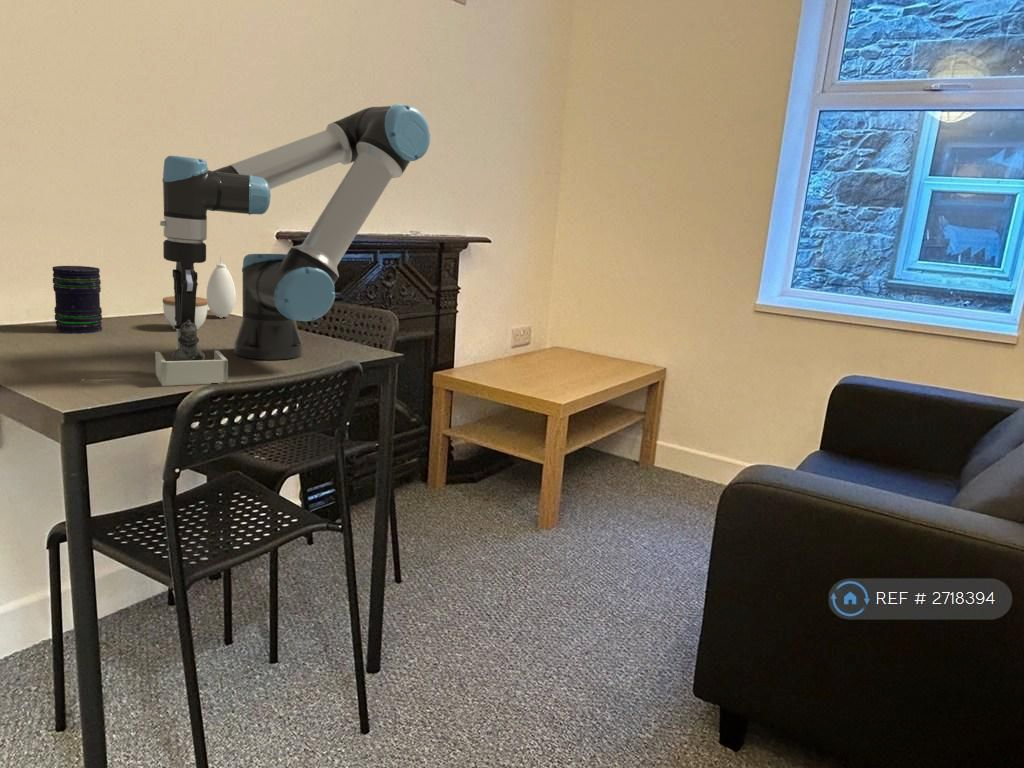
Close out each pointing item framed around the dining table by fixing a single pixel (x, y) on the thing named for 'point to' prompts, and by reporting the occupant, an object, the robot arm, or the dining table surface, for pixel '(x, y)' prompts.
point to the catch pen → (191, 371)
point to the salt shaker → (188, 344)
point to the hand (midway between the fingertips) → (184, 359)
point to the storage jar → (77, 299)
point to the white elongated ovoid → (221, 291)
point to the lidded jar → (199, 310)
